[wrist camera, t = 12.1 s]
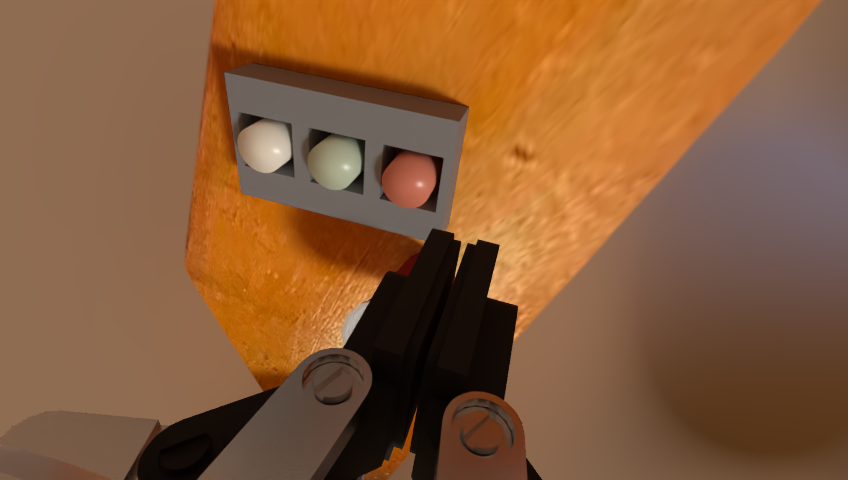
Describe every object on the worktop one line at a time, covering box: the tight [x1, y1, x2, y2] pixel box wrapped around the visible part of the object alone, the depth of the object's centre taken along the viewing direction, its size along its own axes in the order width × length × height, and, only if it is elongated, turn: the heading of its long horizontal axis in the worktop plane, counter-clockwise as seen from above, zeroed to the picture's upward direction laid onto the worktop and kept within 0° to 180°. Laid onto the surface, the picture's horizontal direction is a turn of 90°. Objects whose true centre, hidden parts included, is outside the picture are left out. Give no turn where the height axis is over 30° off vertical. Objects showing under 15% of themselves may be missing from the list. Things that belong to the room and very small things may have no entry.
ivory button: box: [237, 118, 294, 173], centre depth 42 cm, size 4×4×5 cm
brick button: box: [382, 149, 443, 208], centre depth 40 cm, size 4×4×5 cm
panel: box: [224, 63, 469, 241], centre depth 41 cm, size 12×21×4 cm, turn 83°
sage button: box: [308, 133, 365, 190], centre depth 41 cm, size 4×4×5 cm
